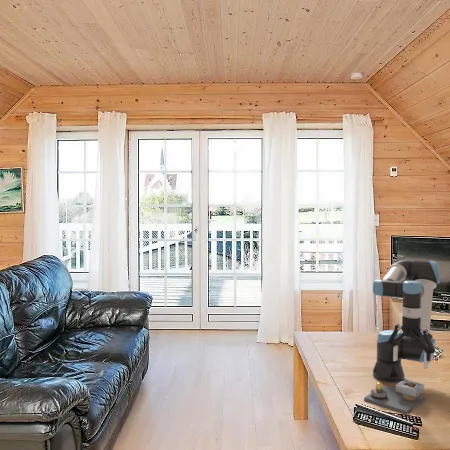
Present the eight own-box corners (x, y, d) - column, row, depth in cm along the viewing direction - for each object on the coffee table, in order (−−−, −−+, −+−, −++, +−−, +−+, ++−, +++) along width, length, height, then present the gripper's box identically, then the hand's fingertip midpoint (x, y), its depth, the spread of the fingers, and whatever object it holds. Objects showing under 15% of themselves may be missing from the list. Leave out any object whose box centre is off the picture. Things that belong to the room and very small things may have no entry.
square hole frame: (404, 385, 208) (404, 379, 208) (424, 391, 201) (424, 384, 201) (395, 391, 201) (395, 384, 201) (416, 397, 195) (416, 390, 195)
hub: (375, 391, 208) (375, 378, 208) (390, 396, 203) (390, 383, 203) (367, 396, 203) (368, 383, 203) (382, 401, 198) (383, 387, 198)
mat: (384, 387, 216) (384, 385, 216) (425, 399, 203) (425, 397, 203) (364, 400, 202) (364, 397, 202) (406, 414, 188) (406, 411, 188)
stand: (405, 394, 206) (406, 378, 205) (419, 398, 201) (419, 382, 201) (400, 398, 201) (400, 382, 201) (413, 402, 197) (414, 386, 197)
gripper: (380, 313, 206) (379, 359, 207) (437, 323, 188) (436, 373, 189) (387, 310, 211) (387, 355, 212) (444, 320, 194) (443, 369, 195)
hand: (410, 364), depth 201 cm, fingers open, 13 cm apart
